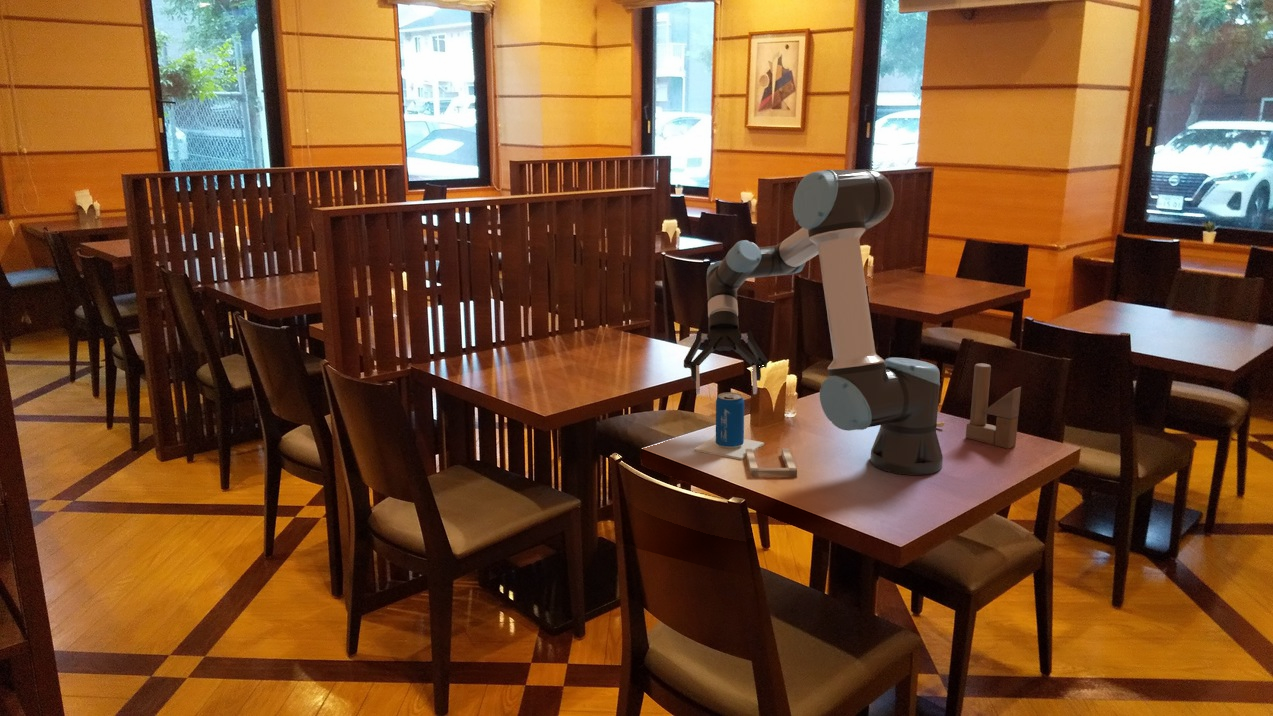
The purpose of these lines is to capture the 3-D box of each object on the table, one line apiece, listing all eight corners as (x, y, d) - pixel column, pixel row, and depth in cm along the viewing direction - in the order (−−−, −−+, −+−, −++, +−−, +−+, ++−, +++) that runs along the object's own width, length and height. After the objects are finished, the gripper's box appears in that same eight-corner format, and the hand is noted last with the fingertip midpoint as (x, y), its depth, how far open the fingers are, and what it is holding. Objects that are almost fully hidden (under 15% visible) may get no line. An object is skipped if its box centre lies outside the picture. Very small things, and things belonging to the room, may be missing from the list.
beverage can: (711, 447, 206) (711, 397, 204) (721, 439, 212) (722, 390, 209) (737, 451, 203) (738, 401, 201) (747, 443, 209) (748, 393, 206)
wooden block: (1008, 449, 204) (1015, 373, 200) (964, 438, 212) (970, 364, 208) (1016, 445, 207) (1023, 370, 202) (973, 434, 215) (979, 362, 210)
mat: (763, 444, 210) (763, 442, 210) (741, 459, 200) (741, 457, 200) (717, 436, 216) (718, 434, 216) (694, 450, 206) (694, 448, 206)
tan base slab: (745, 454, 203) (745, 448, 203) (788, 454, 203) (788, 448, 202) (751, 477, 189) (751, 470, 189) (796, 477, 189) (797, 470, 189)
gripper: (771, 325, 227) (777, 398, 216) (673, 326, 228) (674, 399, 217) (774, 308, 221) (780, 383, 210) (673, 309, 222) (674, 384, 211)
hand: (726, 391), depth 213 cm, fingers open, 13 cm apart
